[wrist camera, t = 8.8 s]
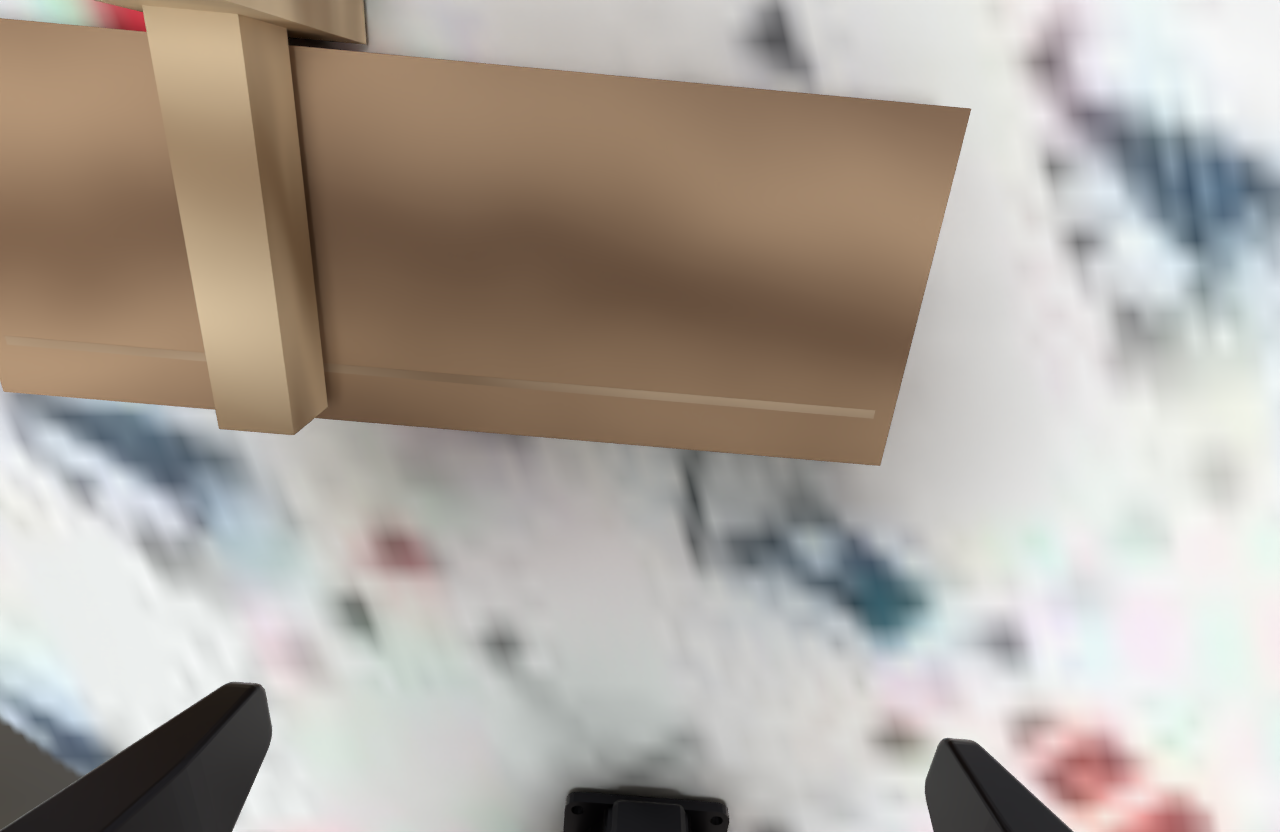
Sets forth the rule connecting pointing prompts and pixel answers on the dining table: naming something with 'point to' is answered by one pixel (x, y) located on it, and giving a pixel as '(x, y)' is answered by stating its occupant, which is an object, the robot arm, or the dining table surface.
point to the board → (496, 246)
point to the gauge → (245, 194)
